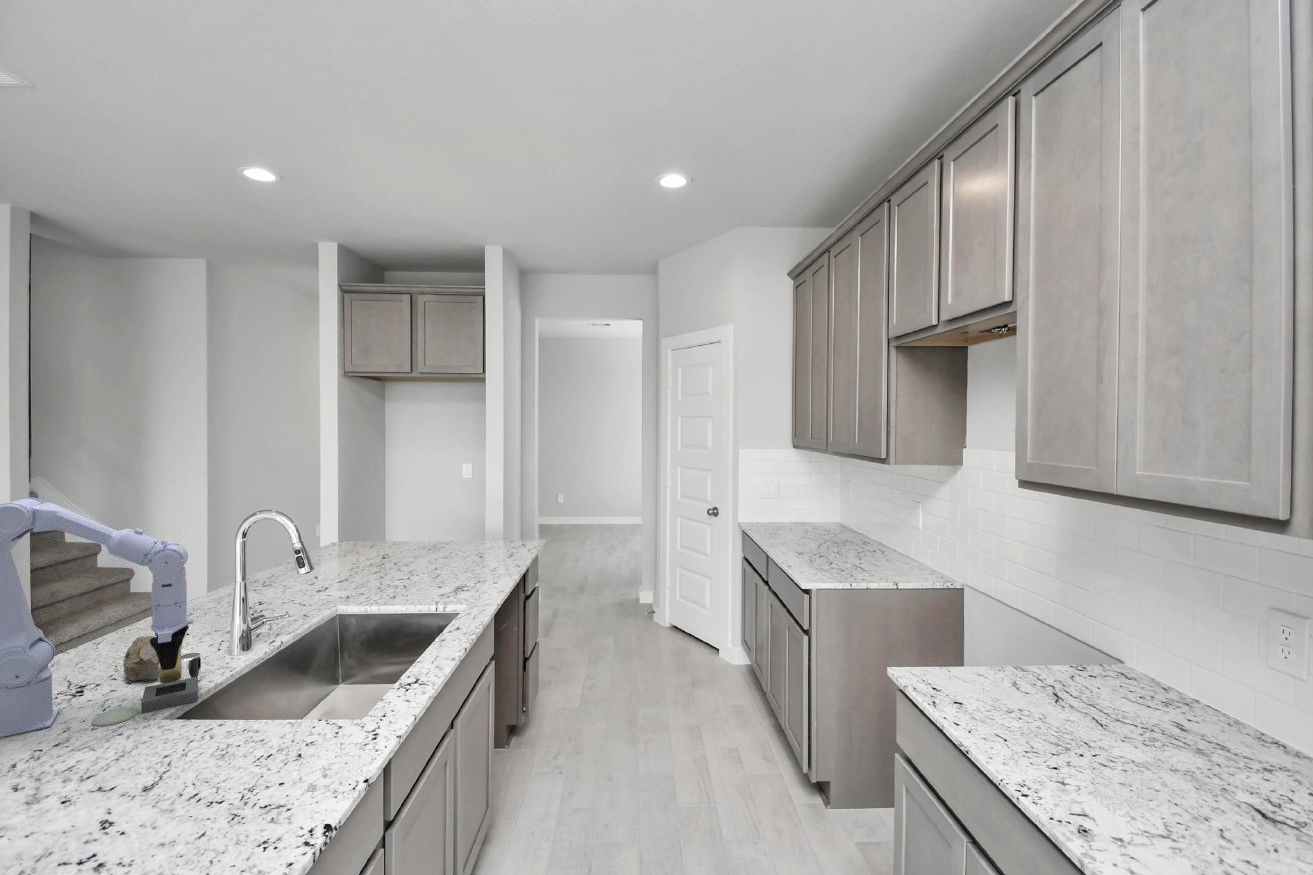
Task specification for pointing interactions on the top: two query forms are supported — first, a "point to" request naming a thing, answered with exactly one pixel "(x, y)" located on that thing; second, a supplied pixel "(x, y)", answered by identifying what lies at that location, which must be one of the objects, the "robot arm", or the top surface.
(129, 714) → the mat
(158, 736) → the top surface
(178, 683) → the housing
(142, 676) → the rock
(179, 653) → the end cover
